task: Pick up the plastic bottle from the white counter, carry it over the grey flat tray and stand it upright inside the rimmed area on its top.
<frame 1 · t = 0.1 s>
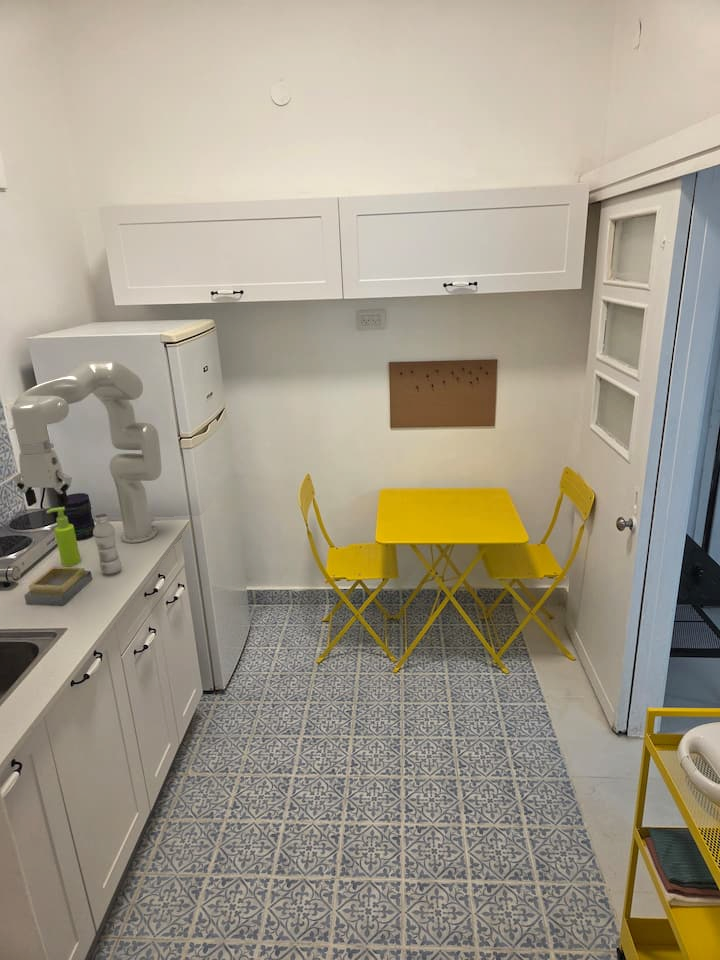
hand: (48, 504, 177), 31 cm above the counter, fingers open, 9 cm apart
soap dispenser: (69, 563, 211), on the counter
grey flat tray: (60, 591, 193), on the counter
storage jar: (82, 535, 232), on the counter
plastic bottle: (112, 572, 204), on the counter
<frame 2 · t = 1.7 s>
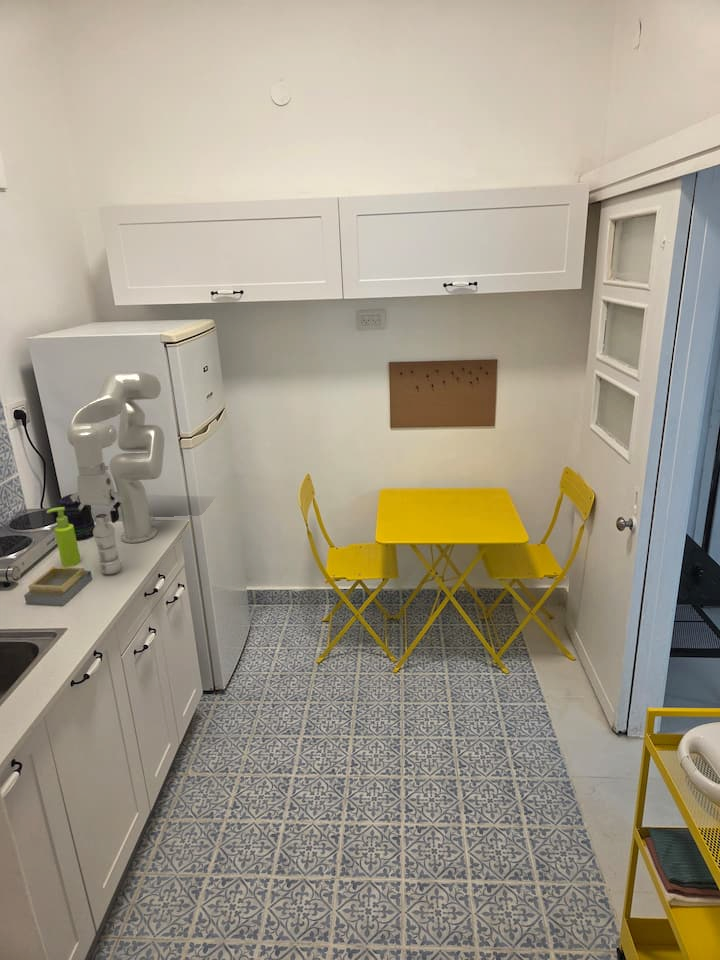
hand: (101, 520, 197), 19 cm above the counter, fingers open, 9 cm apart
nothing on the counter moved.
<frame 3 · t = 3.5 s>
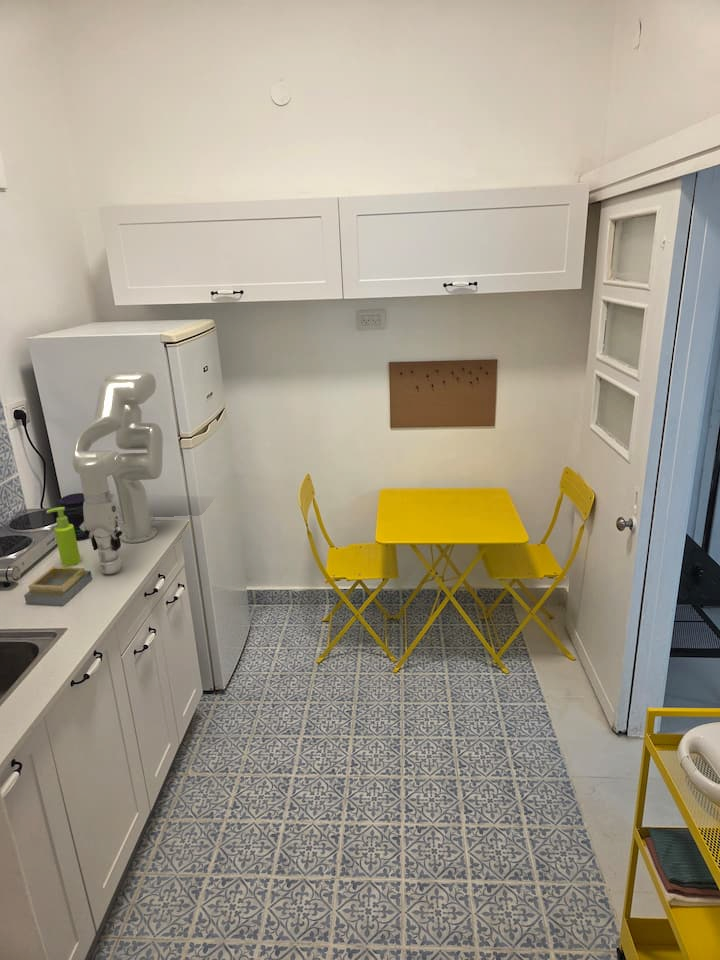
hand: (107, 548, 201), 9 cm above the counter, fingers closed on plastic bottle, 6 cm apart
plastic bottle: (111, 572, 204), on the counter, touching gripper
everything else where it was.
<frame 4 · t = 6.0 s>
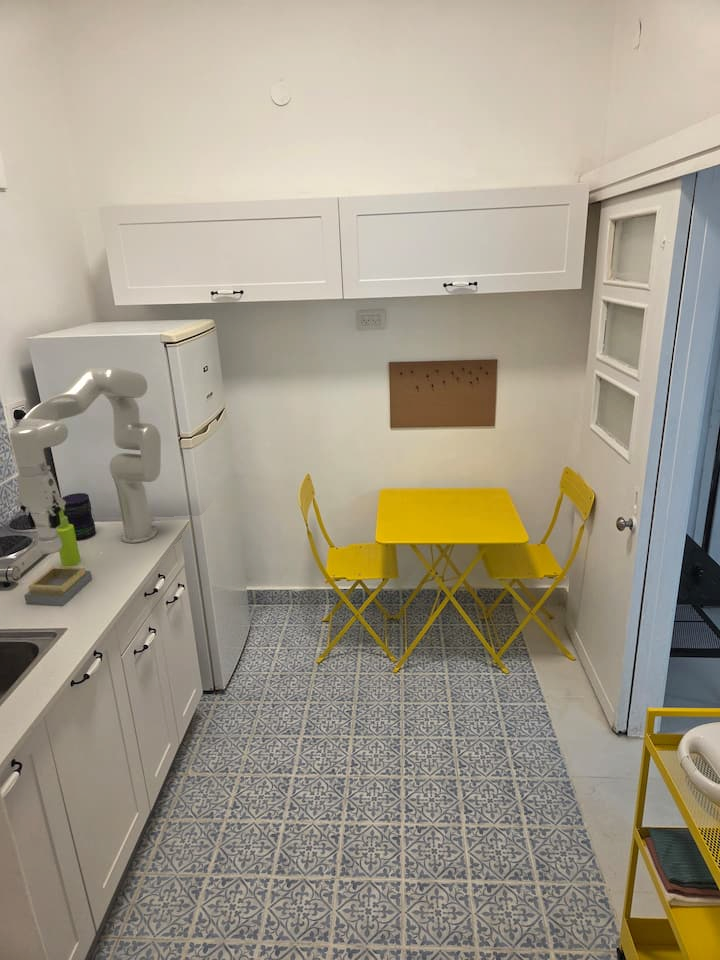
hand: (45, 525, 186), 22 cm above the counter, fingers closed on plastic bottle, 6 cm apart
plastic bottle: (51, 552, 189), point 13 cm above the counter, touching gripper
everything else where it was.
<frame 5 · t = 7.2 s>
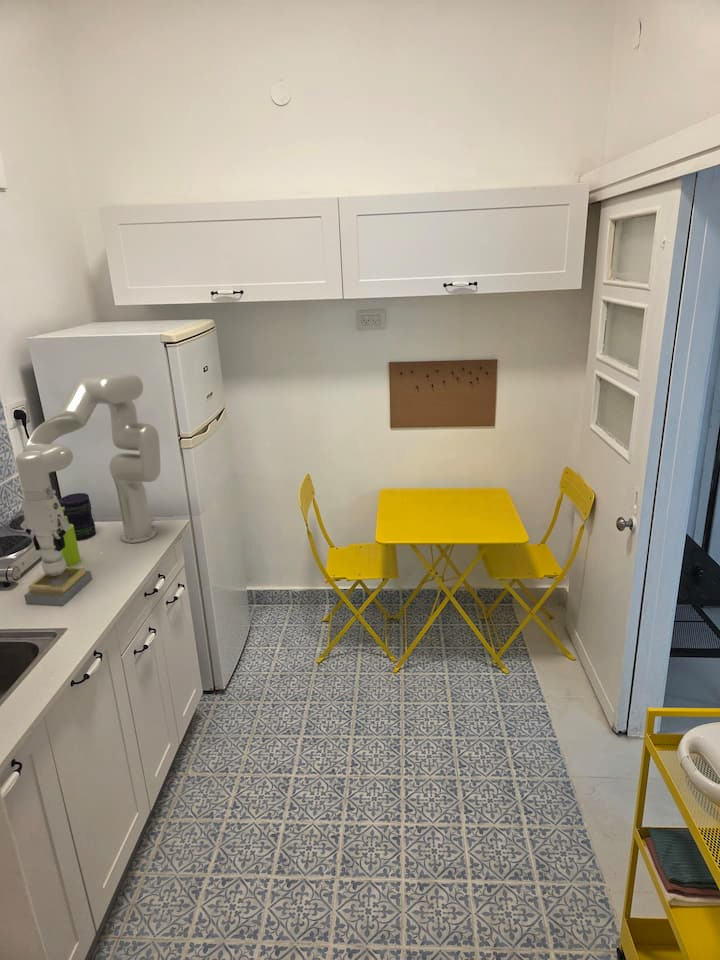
hand: (50, 548, 188), 15 cm above the counter, fingers closed on plastic bottle, 6 cm apart
plastic bottle: (56, 574, 191), point 6 cm above the counter, touching gripper
everything else where it was.
when the fingers open (13 cm above the counter, at t = 8.5 s): plastic bottle drops 1 cm, resting on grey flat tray.
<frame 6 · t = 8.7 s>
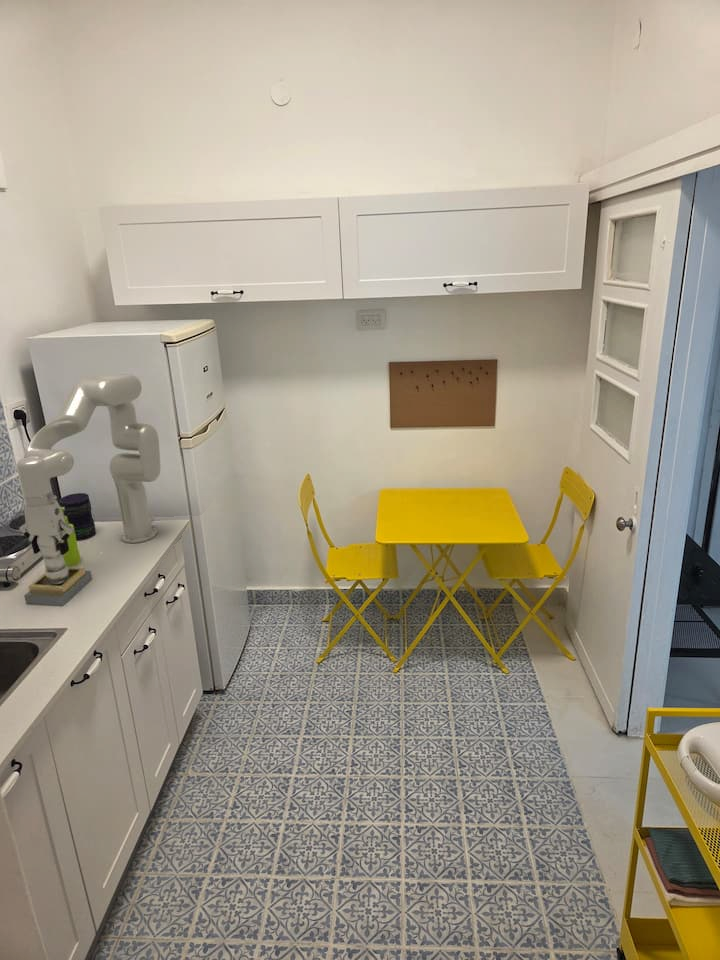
hand: (51, 552, 189), 13 cm above the counter, fingers open, 8 cm apart
plastic bottle: (59, 582, 193), point 3 cm above the counter, touching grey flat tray
everything else where it was.
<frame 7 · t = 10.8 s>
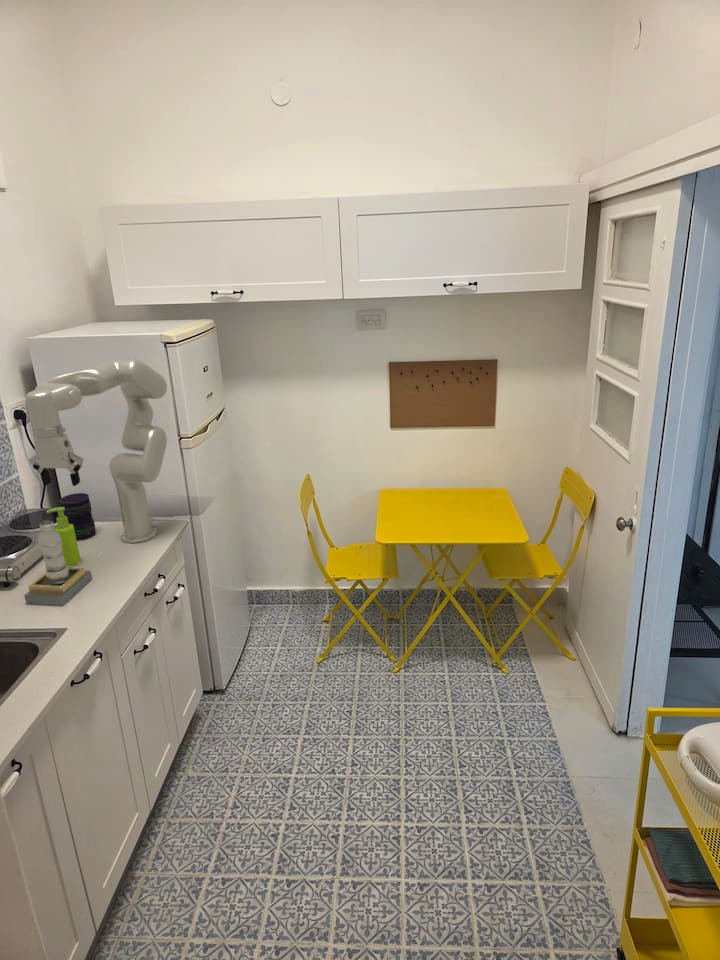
hand: (61, 484, 193), 31 cm above the counter, fingers open, 9 cm apart
nothing on the counter moved.
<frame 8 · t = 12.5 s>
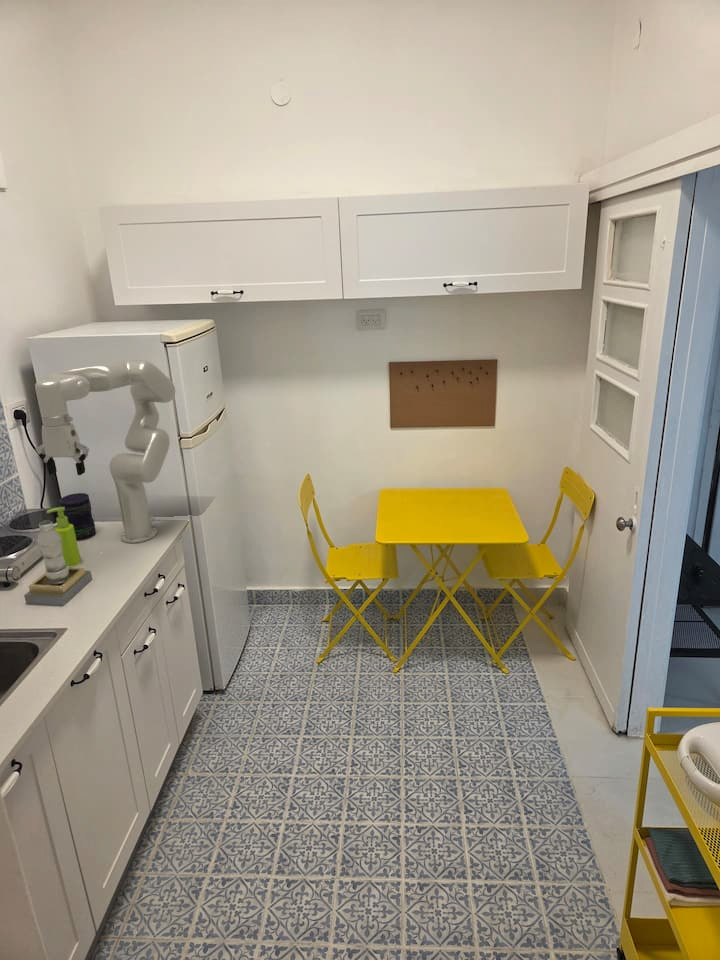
hand: (67, 473, 196), 33 cm above the counter, fingers open, 9 cm apart
nothing on the counter moved.
at the end: plastic bottle inside the target area on the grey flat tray (0.4 cm from its centre), point 2.8 cm above the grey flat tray's base; plastic bottle tilted 0°; the gripper is holding nothing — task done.
